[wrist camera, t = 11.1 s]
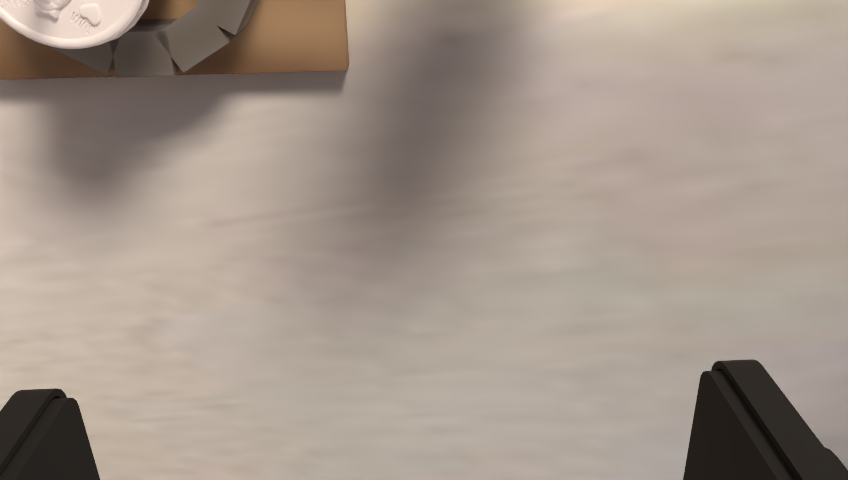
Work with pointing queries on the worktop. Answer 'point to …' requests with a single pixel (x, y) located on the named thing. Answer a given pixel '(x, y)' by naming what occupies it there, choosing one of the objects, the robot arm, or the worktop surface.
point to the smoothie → (72, 20)
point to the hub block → (196, 42)
